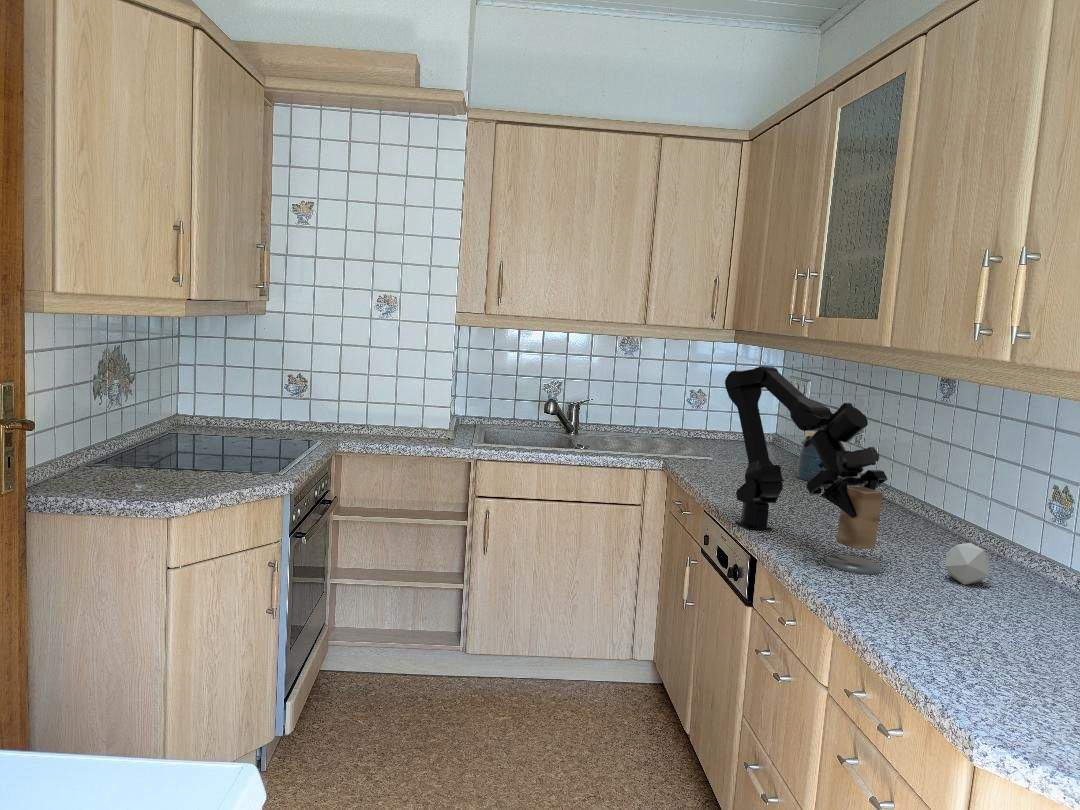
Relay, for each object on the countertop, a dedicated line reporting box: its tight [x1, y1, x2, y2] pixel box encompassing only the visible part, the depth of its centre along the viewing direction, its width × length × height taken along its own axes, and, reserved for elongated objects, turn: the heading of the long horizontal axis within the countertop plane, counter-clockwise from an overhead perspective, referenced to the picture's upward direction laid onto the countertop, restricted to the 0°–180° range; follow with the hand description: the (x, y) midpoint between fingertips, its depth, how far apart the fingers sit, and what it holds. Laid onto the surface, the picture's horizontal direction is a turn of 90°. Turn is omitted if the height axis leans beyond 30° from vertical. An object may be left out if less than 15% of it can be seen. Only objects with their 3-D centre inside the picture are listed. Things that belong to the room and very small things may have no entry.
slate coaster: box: [825, 554, 882, 575], centre depth 185 cm, size 11×11×1 cm
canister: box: [796, 431, 826, 482], centre depth 285 cm, size 13×13×18 cm
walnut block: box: [835, 486, 884, 551], centre depth 184 cm, size 6×6×12 cm
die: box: [944, 542, 991, 586], centre depth 181 cm, size 8×9×10 cm
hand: (864, 516), depth 183 cm, fingers closed on walnut block, 5 cm apart
